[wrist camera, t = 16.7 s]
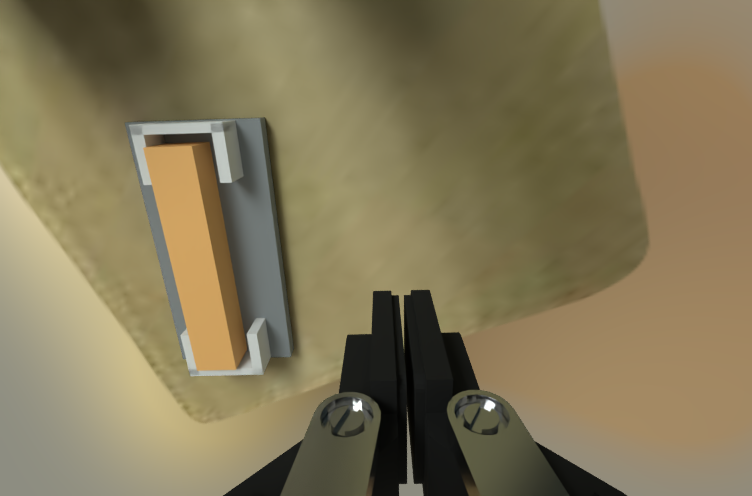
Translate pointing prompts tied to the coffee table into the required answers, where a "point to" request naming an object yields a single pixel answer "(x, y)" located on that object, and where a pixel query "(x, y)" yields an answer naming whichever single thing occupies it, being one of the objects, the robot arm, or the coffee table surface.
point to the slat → (198, 251)
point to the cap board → (230, 231)
